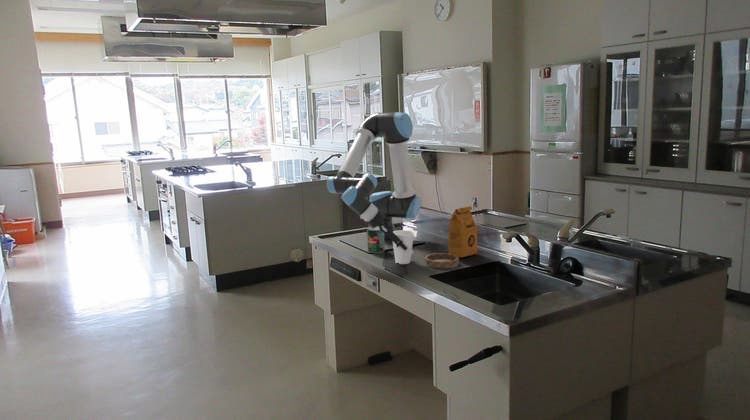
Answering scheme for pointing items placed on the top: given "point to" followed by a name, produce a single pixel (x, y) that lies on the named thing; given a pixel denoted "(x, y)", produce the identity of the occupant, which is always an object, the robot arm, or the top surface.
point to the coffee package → (462, 233)
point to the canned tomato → (375, 240)
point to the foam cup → (398, 252)
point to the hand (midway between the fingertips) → (409, 250)
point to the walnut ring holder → (441, 260)
